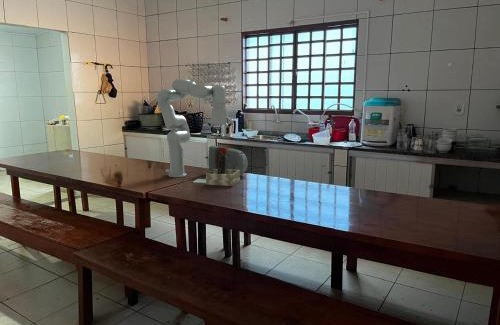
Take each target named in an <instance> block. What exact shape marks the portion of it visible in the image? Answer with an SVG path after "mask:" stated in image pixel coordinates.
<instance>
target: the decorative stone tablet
mask: <svg viewBox="0 0 500 325" xmlns="http://www.w3.org/2000/svg"><path fill="white" fill-rule="evenodd" d="M219 152H222V153H223V154H224V156H225V158H226V162H225V164H226V165H225V169H230V170H240V176H241V175H243V174H244V173H245V172H246V171H247V168H248V165H249V162H248V156H246V154H245V153H244V152H243V151H242V150H239V149H236V148H230V147H226V146H218V145H210V146H209V147H208V161H207V162H208V163H207V164H208V166H207V167H208V171H210V172H213V169H218V163H219Z"/></svg>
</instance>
